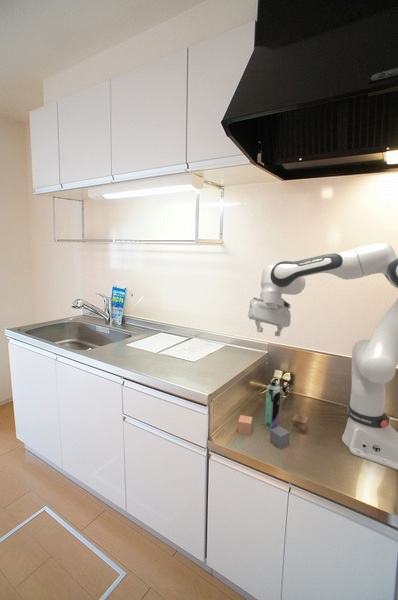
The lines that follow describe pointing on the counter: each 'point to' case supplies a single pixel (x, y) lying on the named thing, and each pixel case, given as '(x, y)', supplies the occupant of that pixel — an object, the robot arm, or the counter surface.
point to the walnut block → (300, 424)
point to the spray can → (272, 406)
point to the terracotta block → (245, 425)
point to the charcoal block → (279, 437)
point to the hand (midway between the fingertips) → (268, 334)
